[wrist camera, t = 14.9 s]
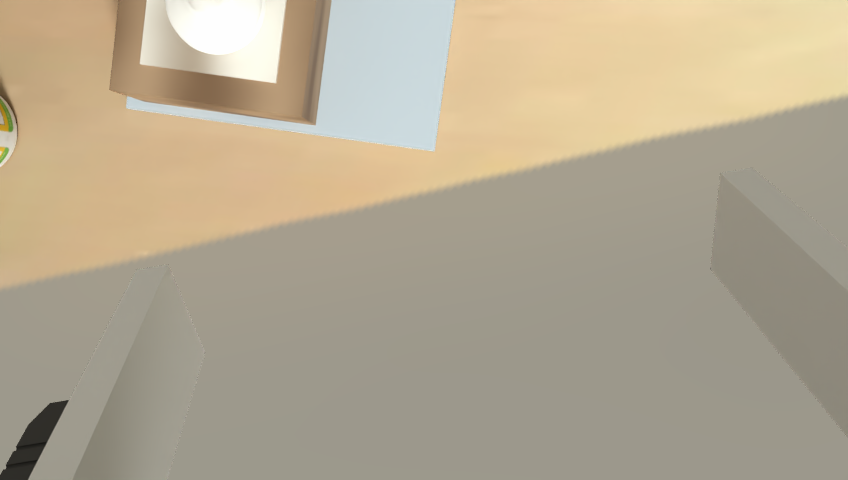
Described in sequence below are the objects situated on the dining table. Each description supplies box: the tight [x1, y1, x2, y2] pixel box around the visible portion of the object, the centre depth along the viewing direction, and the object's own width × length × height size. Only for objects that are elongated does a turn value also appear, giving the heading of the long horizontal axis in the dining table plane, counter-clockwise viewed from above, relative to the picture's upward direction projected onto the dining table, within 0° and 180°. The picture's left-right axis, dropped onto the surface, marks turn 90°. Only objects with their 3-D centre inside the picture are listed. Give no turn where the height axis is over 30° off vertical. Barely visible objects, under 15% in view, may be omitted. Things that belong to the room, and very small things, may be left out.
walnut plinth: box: [109, 0, 332, 126], centre depth 36 cm, size 10×10×5 cm
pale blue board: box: [126, 0, 455, 151], centre depth 38 cm, size 18×11×1 cm, turn 82°
